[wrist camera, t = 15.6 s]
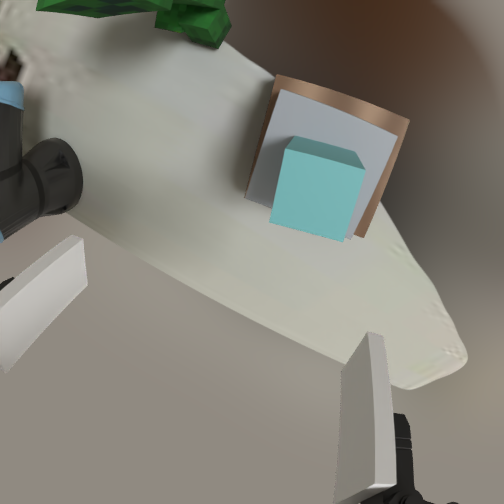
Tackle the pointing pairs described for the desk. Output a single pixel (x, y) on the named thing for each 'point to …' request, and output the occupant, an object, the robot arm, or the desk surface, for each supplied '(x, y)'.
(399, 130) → the tower base
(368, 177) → the tower top
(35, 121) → the desk surface
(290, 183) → the block
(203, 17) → the toy
